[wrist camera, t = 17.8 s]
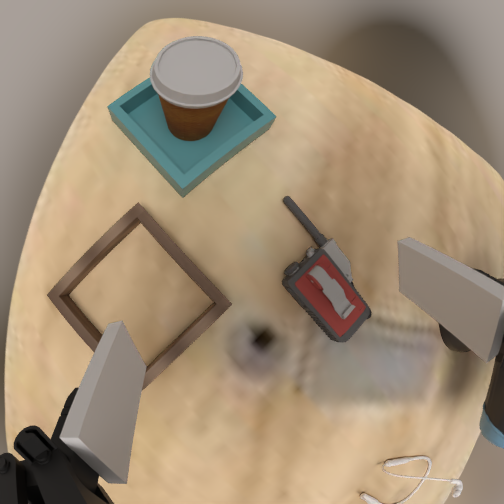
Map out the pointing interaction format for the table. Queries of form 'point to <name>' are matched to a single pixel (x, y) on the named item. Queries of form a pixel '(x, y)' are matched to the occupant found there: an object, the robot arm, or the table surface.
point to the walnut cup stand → (100, 251)
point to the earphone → (456, 489)
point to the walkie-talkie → (325, 285)
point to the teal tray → (188, 152)
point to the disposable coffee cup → (195, 84)
